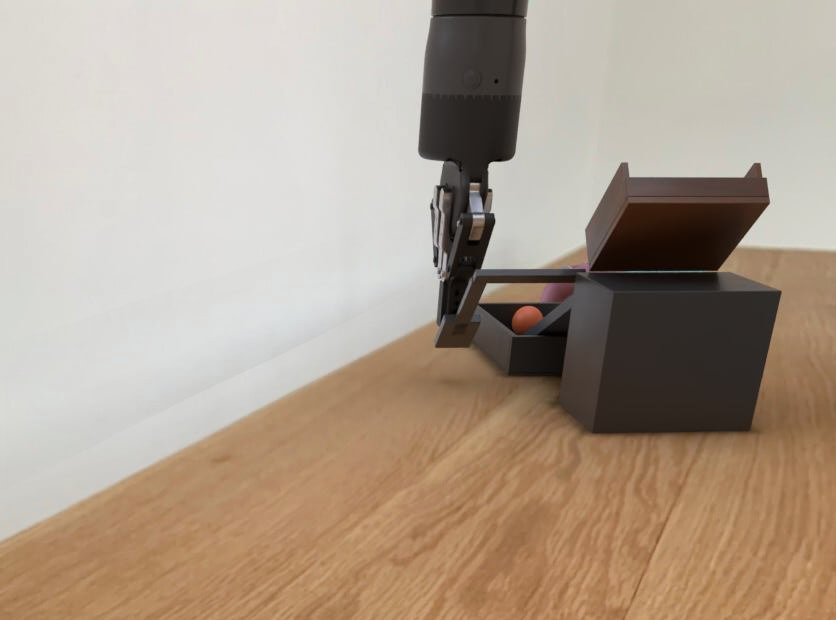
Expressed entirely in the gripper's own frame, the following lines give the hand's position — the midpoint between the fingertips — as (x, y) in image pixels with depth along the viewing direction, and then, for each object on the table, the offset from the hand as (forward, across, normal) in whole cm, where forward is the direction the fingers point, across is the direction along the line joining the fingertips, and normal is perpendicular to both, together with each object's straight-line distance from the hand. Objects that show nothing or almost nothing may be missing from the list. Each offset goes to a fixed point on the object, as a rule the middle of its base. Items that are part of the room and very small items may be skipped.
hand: (450, 328), depth 93 cm
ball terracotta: (+2, +15, -11) cm, 19 cm away
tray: (+4, +9, -13) cm, 17 cm away
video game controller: (+4, +25, -20) cm, 32 cm away
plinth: (+4, -13, -13) cm, 19 cm away
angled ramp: (+4, +1, -13) cm, 14 cm away
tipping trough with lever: (-5, -7, -8) cm, 12 cm away
